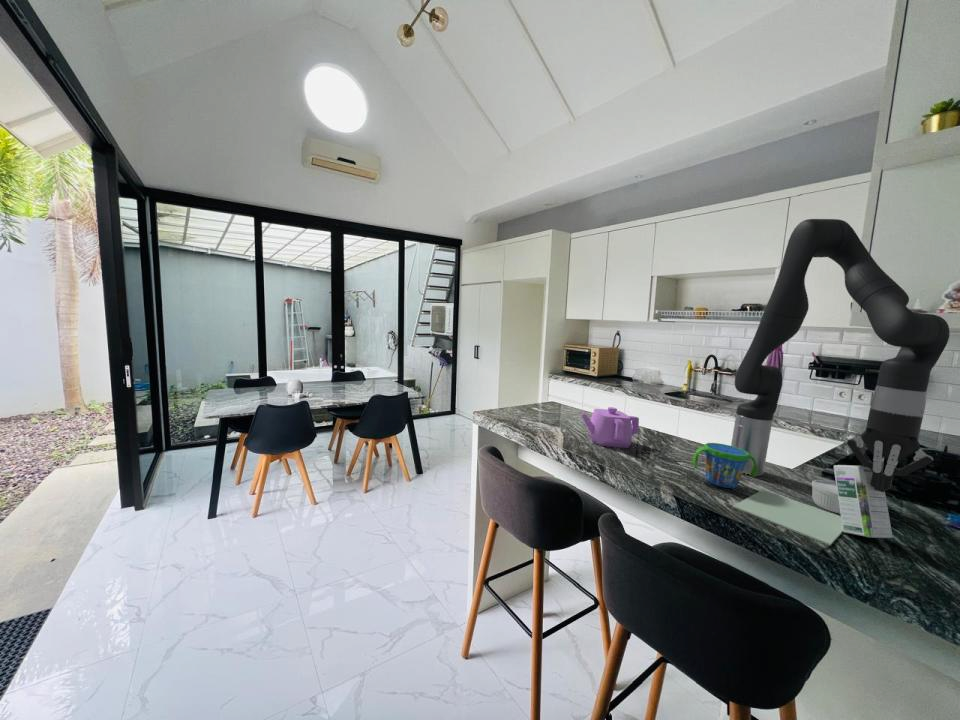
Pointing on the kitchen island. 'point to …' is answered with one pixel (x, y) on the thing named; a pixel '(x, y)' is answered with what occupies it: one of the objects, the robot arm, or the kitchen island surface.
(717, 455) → the snack cup
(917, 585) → the kitchen island surface
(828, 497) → the ramekin
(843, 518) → the syrup box
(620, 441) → the teakettle
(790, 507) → the mat
